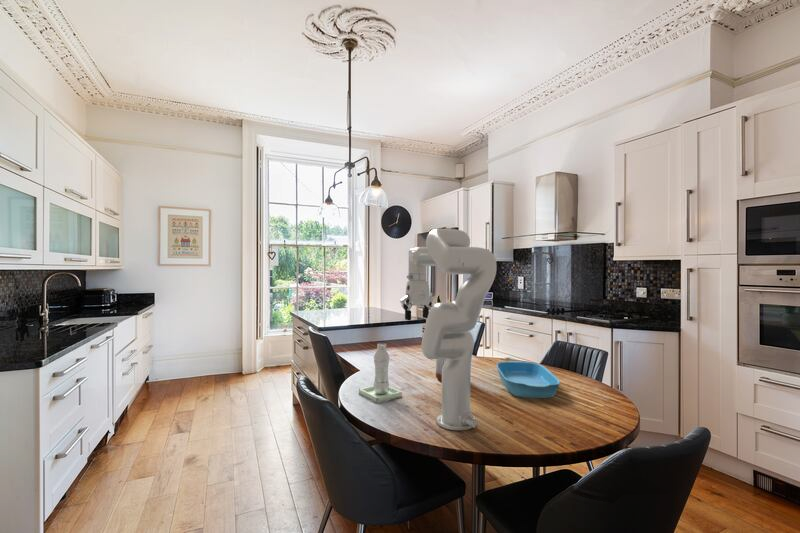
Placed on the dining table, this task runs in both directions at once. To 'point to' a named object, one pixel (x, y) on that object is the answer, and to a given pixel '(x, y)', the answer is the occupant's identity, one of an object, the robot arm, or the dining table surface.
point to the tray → (378, 398)
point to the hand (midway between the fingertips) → (417, 318)
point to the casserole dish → (528, 379)
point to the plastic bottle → (381, 369)
